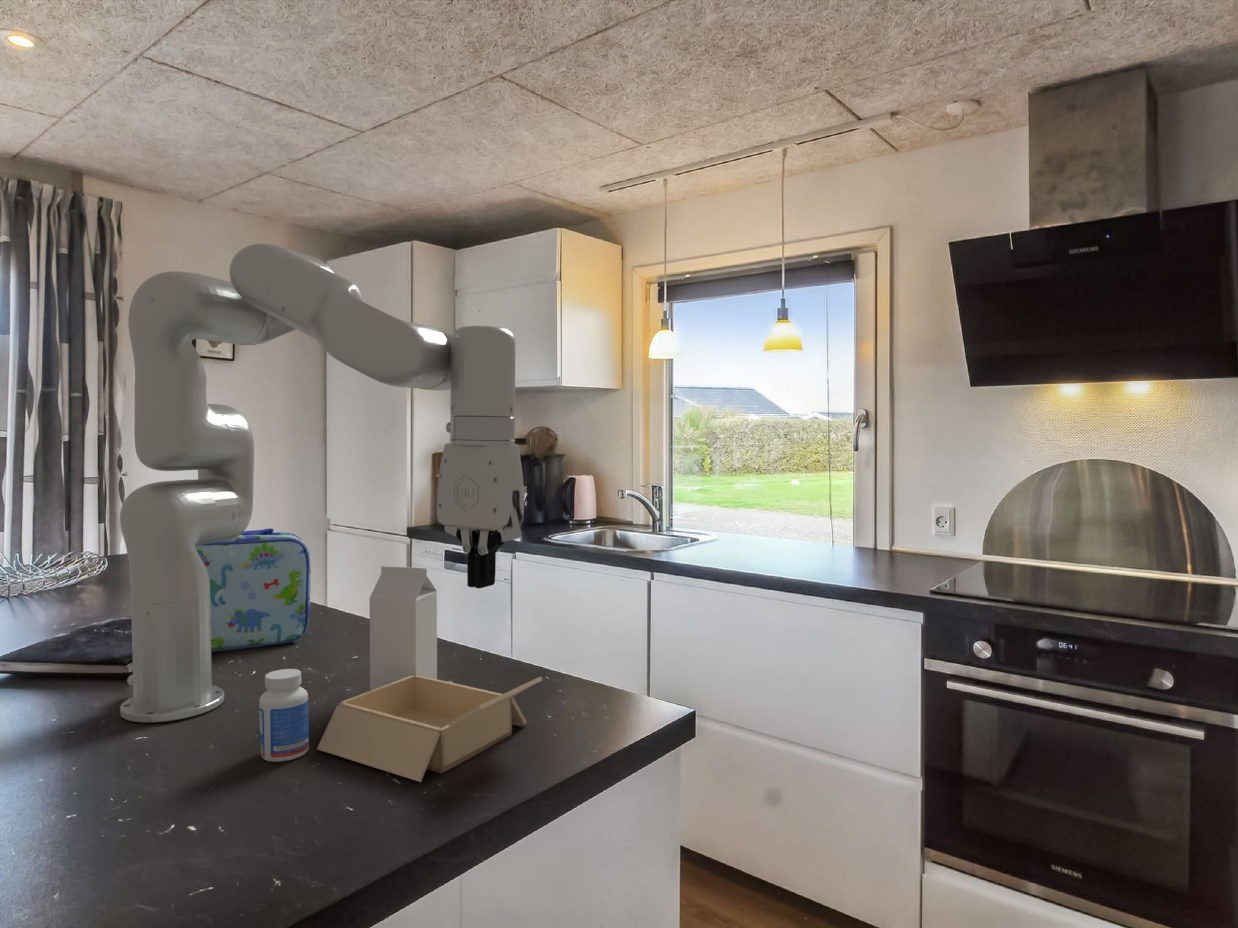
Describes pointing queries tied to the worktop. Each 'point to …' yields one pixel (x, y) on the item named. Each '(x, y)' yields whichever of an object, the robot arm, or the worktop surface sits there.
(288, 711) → the pill bottle
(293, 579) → the lunch box
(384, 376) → the robot arm
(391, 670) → the milk carton
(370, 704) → the carton
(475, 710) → the flap
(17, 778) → the worktop surface
